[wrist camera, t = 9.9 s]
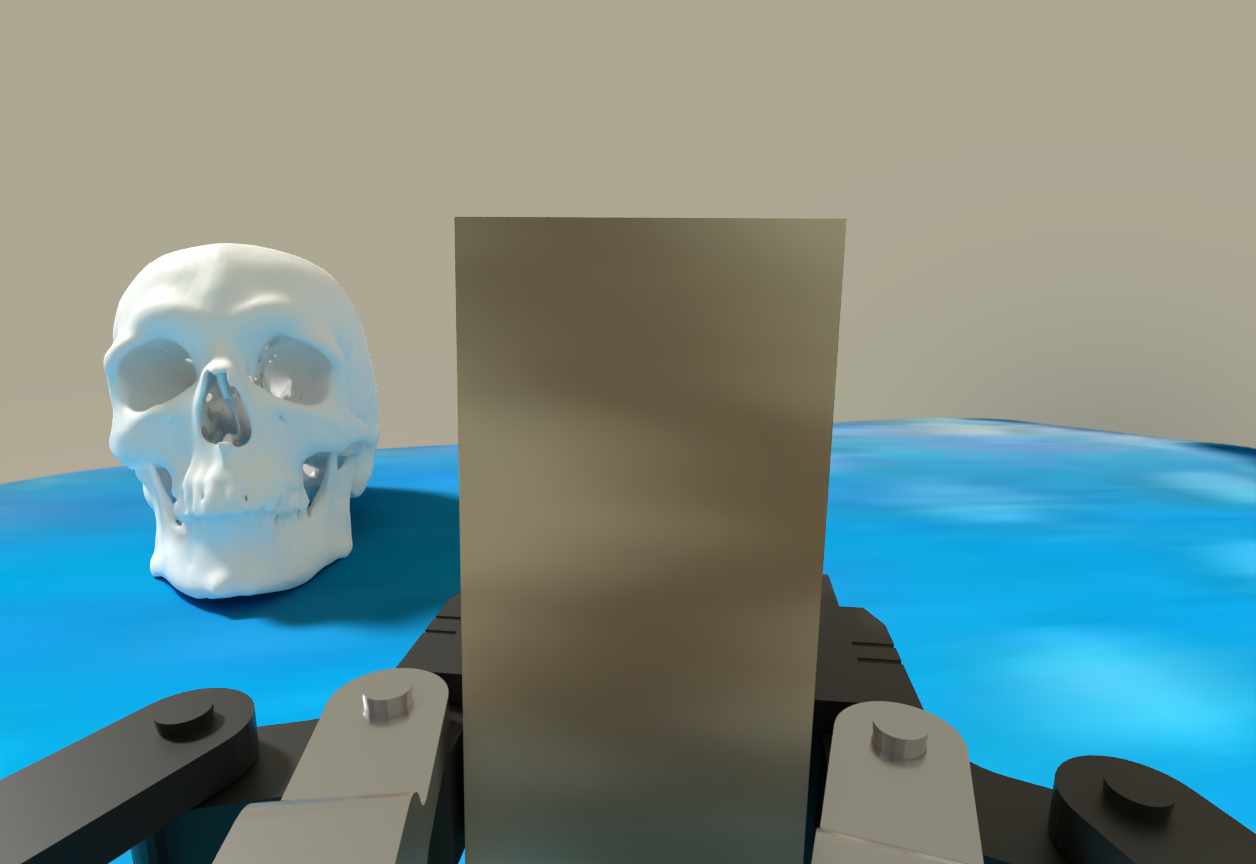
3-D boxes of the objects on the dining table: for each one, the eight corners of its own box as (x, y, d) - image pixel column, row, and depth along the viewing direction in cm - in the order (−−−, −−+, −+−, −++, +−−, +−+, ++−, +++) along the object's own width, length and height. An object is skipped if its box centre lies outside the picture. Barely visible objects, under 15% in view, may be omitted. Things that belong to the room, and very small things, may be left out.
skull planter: (24, 614, 30) (46, 188, 34) (163, 629, 48) (166, 349, 53) (388, 574, 34) (366, 200, 39) (389, 601, 53) (374, 345, 57)
